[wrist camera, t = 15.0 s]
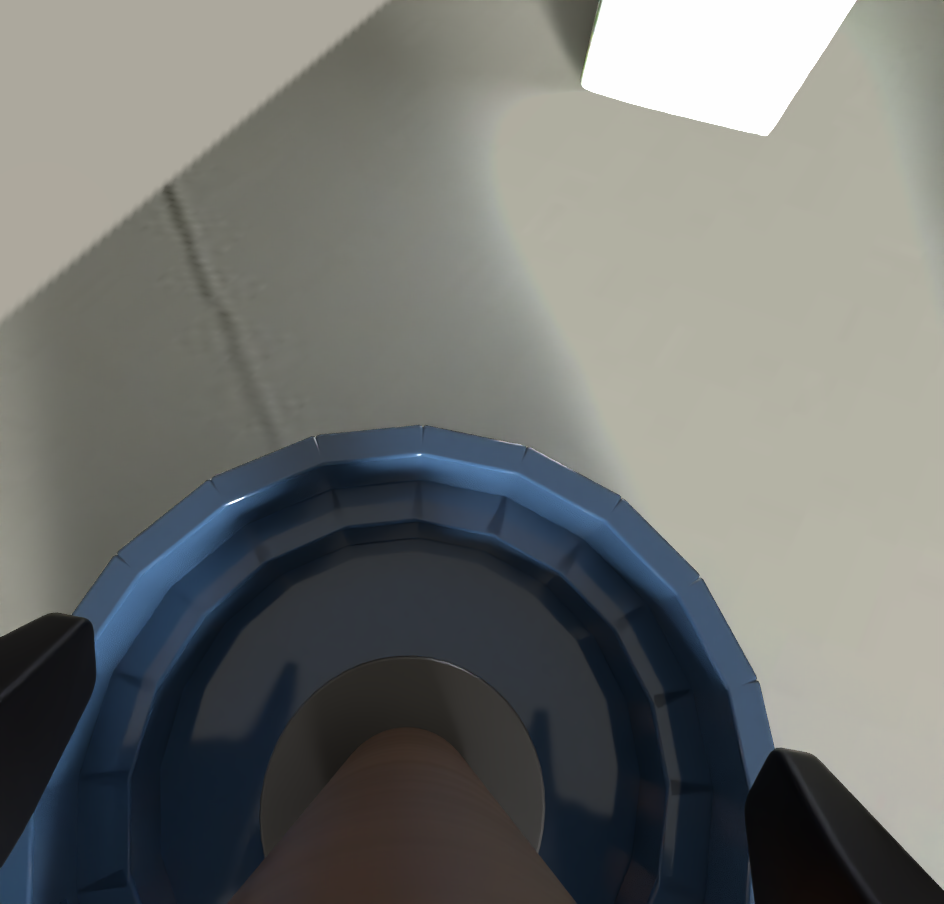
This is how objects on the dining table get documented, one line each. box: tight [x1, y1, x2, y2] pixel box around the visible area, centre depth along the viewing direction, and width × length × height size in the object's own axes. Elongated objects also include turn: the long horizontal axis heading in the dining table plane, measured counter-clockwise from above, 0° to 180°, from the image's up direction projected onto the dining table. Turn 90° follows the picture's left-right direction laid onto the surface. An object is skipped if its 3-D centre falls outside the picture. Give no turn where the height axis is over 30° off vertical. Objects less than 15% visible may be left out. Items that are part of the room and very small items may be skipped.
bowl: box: [0, 425, 775, 904], centre depth 14 cm, size 12×12×4 cm
